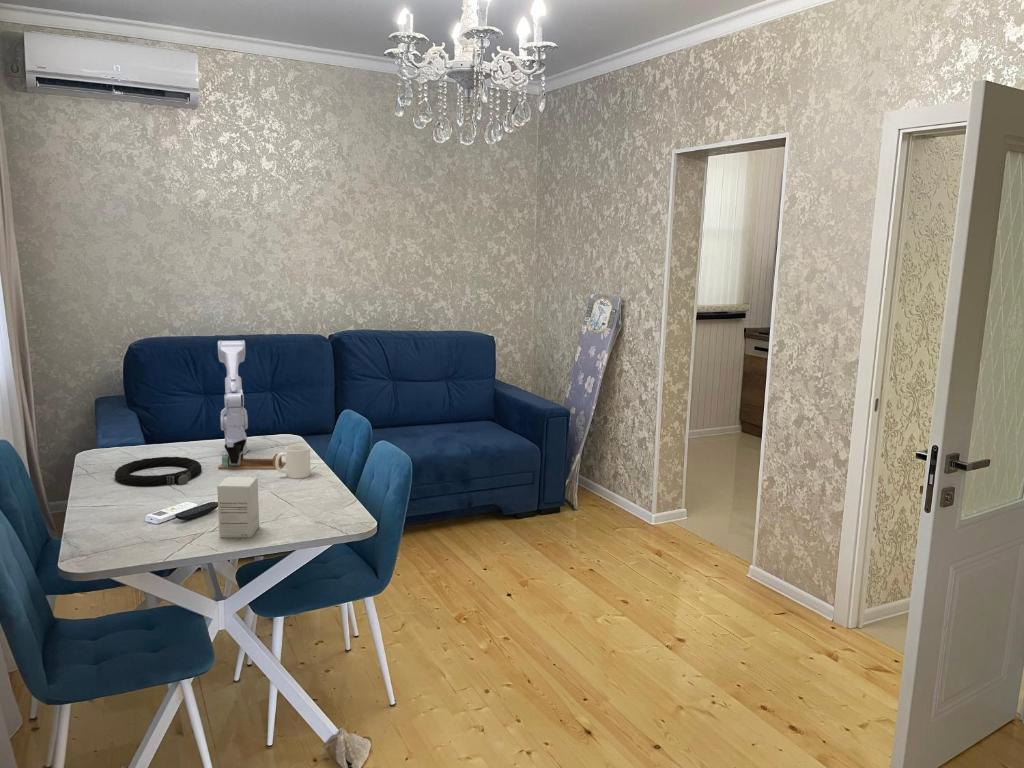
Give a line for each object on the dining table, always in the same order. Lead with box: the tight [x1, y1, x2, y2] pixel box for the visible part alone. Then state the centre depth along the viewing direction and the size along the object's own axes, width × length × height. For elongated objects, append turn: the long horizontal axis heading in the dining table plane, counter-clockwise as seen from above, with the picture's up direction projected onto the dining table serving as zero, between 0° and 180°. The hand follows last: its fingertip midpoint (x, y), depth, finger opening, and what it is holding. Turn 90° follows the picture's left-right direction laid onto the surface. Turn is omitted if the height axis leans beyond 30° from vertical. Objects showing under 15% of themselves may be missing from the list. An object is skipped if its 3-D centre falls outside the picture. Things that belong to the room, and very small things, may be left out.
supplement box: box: [216, 476, 260, 539], centre depth 210 cm, size 9×9×15 cm
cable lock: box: [114, 456, 203, 487], centre depth 261 cm, size 28×4×30 cm
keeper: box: [229, 450, 245, 466], centre depth 274 cm, size 4×4×5 cm
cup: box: [275, 444, 311, 480], centre depth 264 cm, size 8×12×10 cm
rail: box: [217, 453, 286, 471], centre depth 275 cm, size 8×22×4 cm, turn 95°
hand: (236, 461), depth 274 cm, fingers closed on keeper, 4 cm apart
